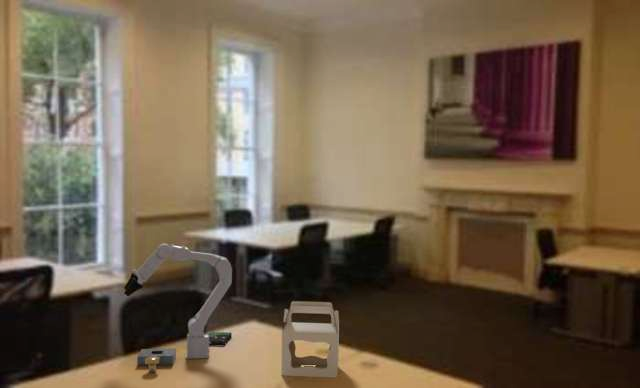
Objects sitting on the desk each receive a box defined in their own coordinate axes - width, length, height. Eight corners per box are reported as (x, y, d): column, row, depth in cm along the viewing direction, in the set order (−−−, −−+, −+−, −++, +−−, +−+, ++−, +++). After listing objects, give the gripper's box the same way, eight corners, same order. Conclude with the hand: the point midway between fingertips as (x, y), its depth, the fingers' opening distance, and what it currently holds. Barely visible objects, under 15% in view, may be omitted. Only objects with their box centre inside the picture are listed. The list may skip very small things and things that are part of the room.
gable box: (280, 375, 231) (281, 304, 230) (284, 364, 244) (285, 297, 243) (337, 378, 229) (338, 306, 228) (338, 366, 243) (340, 299, 241)
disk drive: (224, 347, 268) (231, 337, 283) (224, 341, 268) (231, 332, 283) (201, 346, 269) (210, 337, 284) (201, 340, 269) (210, 331, 284)
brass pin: (160, 369, 236) (160, 356, 236) (158, 374, 230) (158, 360, 230) (146, 369, 235) (146, 356, 235) (143, 374, 230) (143, 361, 229)
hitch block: (175, 357, 250) (175, 348, 250) (172, 365, 240) (172, 355, 240) (141, 358, 249) (141, 349, 248) (137, 366, 239) (137, 356, 239)
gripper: (140, 257, 253) (118, 281, 251) (142, 265, 239) (118, 290, 237) (153, 267, 255) (131, 292, 253) (155, 276, 241) (132, 301, 239)
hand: (126, 292), depth 245 cm, fingers open, 7 cm apart
